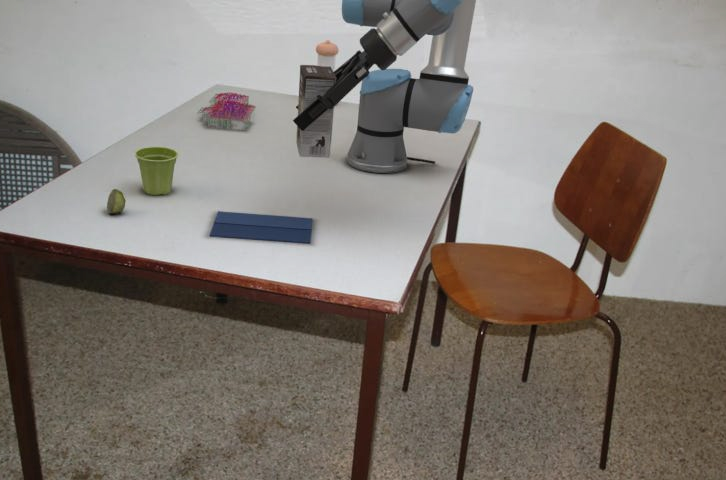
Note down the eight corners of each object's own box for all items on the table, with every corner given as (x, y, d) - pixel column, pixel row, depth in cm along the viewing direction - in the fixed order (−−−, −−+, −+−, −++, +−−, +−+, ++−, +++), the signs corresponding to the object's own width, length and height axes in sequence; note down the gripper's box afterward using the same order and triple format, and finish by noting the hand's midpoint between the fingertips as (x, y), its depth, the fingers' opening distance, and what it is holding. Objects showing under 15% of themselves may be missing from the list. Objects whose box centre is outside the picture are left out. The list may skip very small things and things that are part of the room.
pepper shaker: (310, 105, 249) (314, 41, 240) (313, 99, 256) (317, 37, 246) (333, 107, 249) (338, 43, 239) (336, 101, 255) (341, 39, 245)
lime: (116, 218, 163) (115, 195, 161) (99, 212, 165) (97, 189, 163) (131, 212, 166) (130, 189, 164) (114, 206, 168) (113, 184, 166)
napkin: (312, 220, 168) (312, 218, 168) (310, 243, 158) (310, 241, 158) (218, 213, 169) (218, 211, 168) (209, 236, 158) (209, 233, 158)
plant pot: (186, 187, 181) (185, 150, 176) (166, 201, 173) (165, 162, 168) (149, 180, 183) (148, 144, 179) (128, 194, 175) (126, 155, 171)
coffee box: (295, 143, 166) (299, 64, 158) (325, 144, 167) (331, 65, 159) (298, 157, 158) (303, 74, 150) (330, 158, 159) (337, 76, 151)
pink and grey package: (213, 100, 247) (213, 83, 244) (261, 105, 246) (262, 88, 243) (191, 127, 221) (190, 109, 218) (244, 132, 220) (245, 114, 217)
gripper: (372, 17, 160) (289, 91, 168) (376, 37, 141) (282, 119, 149) (395, 46, 162) (313, 117, 170) (402, 69, 143) (309, 149, 151)
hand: (299, 118), depth 159 cm, fingers closed on coffee box, 9 cm apart
